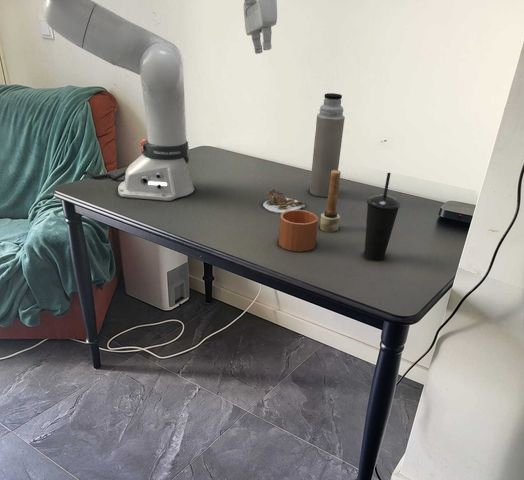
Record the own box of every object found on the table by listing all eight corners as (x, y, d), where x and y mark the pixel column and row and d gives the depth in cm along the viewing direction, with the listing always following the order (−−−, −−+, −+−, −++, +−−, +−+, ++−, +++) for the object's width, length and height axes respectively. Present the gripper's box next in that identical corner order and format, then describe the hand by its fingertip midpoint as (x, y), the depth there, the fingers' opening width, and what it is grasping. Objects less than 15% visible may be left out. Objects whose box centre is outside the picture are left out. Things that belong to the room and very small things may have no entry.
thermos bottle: (310, 187, 165) (319, 90, 148) (335, 189, 164) (347, 92, 148) (309, 195, 158) (318, 95, 142) (335, 197, 158) (348, 97, 141)
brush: (321, 231, 136) (328, 174, 127) (318, 224, 140) (324, 168, 131) (340, 231, 137) (347, 174, 128) (336, 224, 141) (343, 168, 132)
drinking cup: (355, 249, 128) (367, 167, 116) (384, 249, 129) (400, 168, 117) (362, 263, 122) (376, 178, 110) (393, 263, 123) (411, 179, 111)
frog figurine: (254, 206, 149) (254, 193, 147) (277, 196, 157) (277, 183, 155) (287, 216, 144) (288, 203, 142) (309, 205, 152) (310, 192, 150)
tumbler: (280, 251, 125) (282, 224, 121) (277, 235, 133) (278, 209, 129) (318, 251, 126) (321, 224, 122) (312, 236, 134) (314, 210, 130)
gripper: (235, -4, 134) (243, 56, 140) (251, -21, 116) (259, 49, 122) (258, -7, 135) (265, 53, 141) (278, -24, 117) (285, 46, 123)
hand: (263, 51), depth 131 cm, fingers open, 8 cm apart
